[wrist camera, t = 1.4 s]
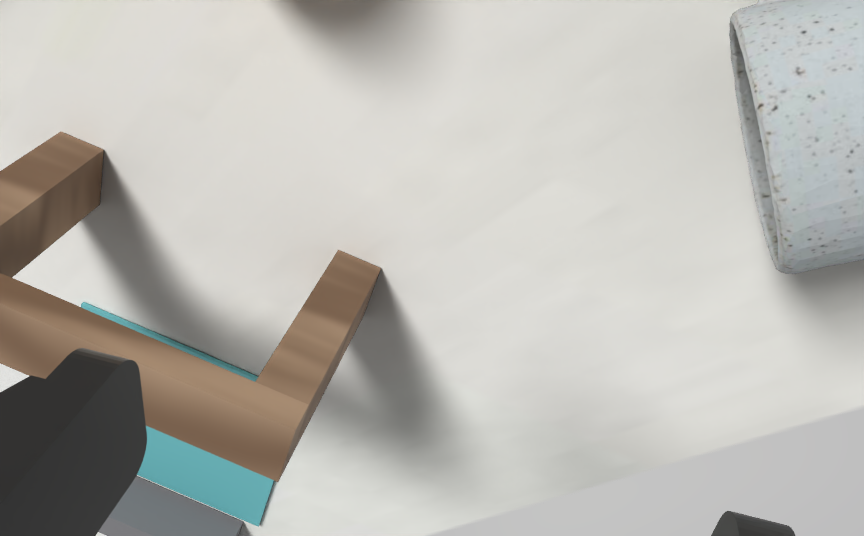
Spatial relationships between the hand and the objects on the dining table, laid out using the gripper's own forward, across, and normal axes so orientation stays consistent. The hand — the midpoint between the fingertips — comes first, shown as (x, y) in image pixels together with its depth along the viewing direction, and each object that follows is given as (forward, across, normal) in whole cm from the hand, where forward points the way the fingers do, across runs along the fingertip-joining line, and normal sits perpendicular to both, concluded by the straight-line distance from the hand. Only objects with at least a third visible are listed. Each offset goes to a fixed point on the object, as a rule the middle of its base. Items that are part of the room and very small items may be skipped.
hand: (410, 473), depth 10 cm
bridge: (+20, +12, +11) cm, 26 cm away
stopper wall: (+21, +17, +32) cm, 41 cm away
